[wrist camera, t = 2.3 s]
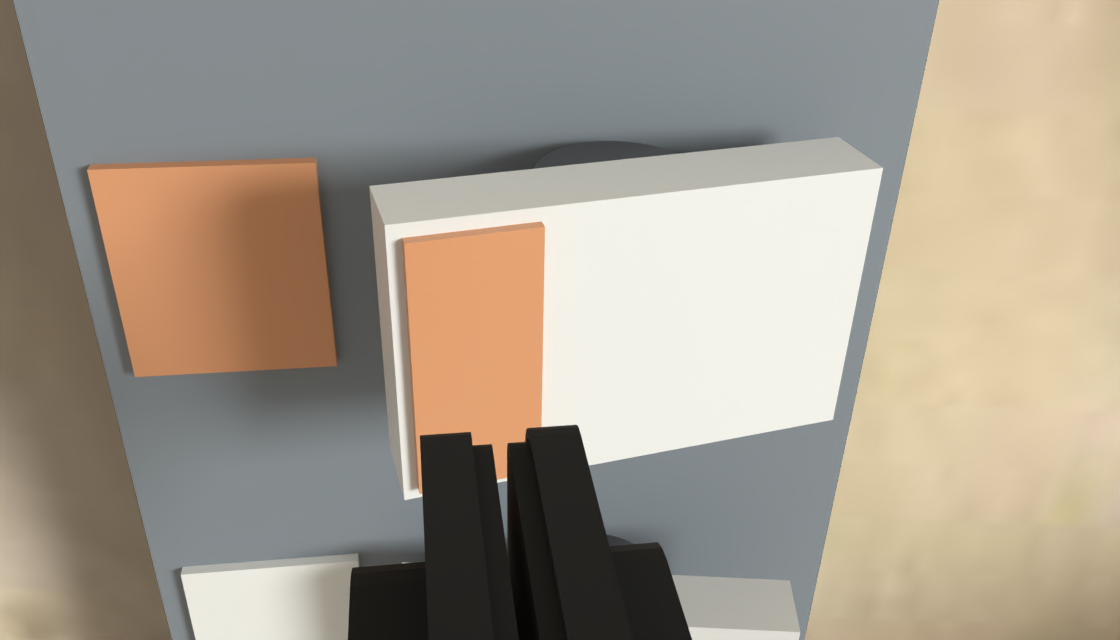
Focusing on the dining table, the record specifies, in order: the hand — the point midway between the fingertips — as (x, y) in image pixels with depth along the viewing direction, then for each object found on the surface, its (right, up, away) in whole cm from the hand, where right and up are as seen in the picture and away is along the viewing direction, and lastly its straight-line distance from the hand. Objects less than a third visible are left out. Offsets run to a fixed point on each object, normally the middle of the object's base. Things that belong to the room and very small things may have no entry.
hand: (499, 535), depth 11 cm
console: (-1, -1, +13) cm, 13 cm away
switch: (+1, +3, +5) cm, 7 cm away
